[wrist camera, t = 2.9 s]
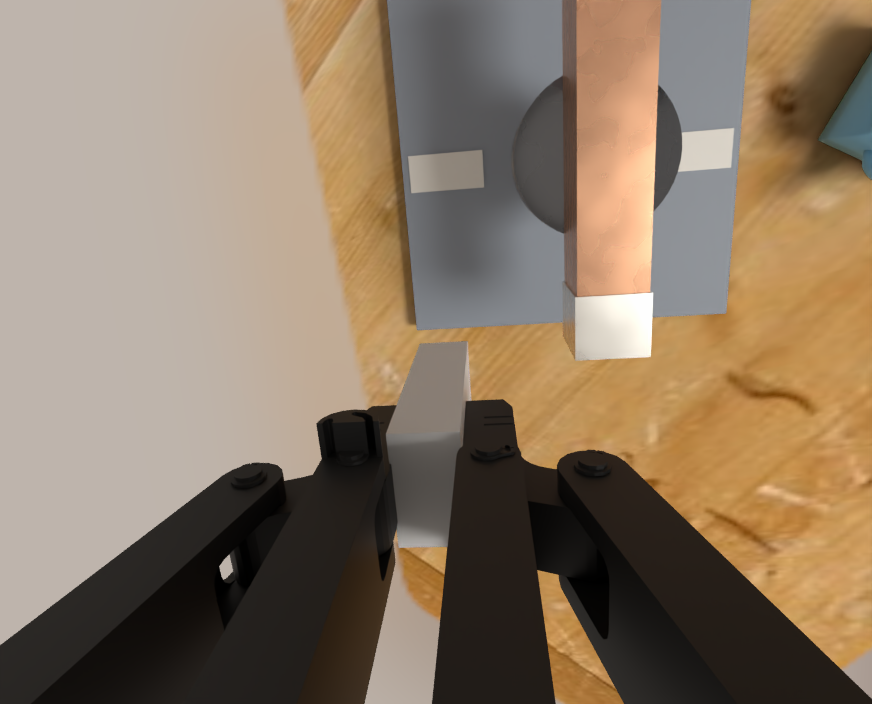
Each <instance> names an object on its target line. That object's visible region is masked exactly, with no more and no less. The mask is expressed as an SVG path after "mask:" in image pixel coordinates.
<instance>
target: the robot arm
mask: <svg viewBox="0 0 872 704" xmlns="http://www.w3.org/2000/svg"><path fill="white" fill-rule="evenodd" d="M317 431H318V437H319V444H320V450H321V457H322V460H321V461H320V463H319V465H318V467H317V468H316V470H315V472H314V474H313V475H310V476H306V477H302V478H297V479H292V480H287V481H284V477H283V472H282V469H281V468H280V467H279V466H278V465H274V464H270V463H252V464H245V465H243V466H241V467H239V468H237V469H234V470H232V471H230V472H228V473H226V474H225V475H223V476H222V477H220V478H219V479H218V480H216V481H215V482H214V483H213V484H211V485H210V486H209V487H207V488H206V489H205V490H203V491H202V492H201V493H199V494H198V495H197V496H195V497H194V498H193V499H191V500H190V501H189V502H188V503H186V504H185V505H184V506H182V507H181V508H180V509H178V510H177V511H176V512H174V513H173V514H172V515H171V516H169V517H168V518H167V519H165V520H164V521H163V522H161V523H160V524H159V525H158V526H156V527H155V528H154V529H152V530H151V531H150V532H148V533H147V534H146V535H145V536H143V537H142V538H141V539H139V540H138V541H136V542H135V543H134V544H132V545H131V546H130V547H129V548H127V549H126V550H125V551H124V552H122V553H121V554H119V555H118V556H117V557H116V558H114V559H113V560H111V561H110V562H109V563H108V564H106V565H105V566H104V567H102V568H101V569H100V570H98V571H97V572H96V573H95V574H93V575H92V576H90V577H89V578H88V579H87V580H85V581H84V582H83V583H81V584H80V585H79V586H78V587H76V588H75V589H73V590H72V591H71V592H69V593H68V594H67V595H66V596H64V597H63V598H62V599H60V600H59V601H58V602H56V603H55V604H54V605H52V606H51V607H50V608H49V609H47V610H46V611H45V612H43V613H42V614H41V615H39V616H38V617H37V618H36V619H34V620H33V621H31V622H30V623H29V624H28V625H26V626H25V627H24V628H22V629H21V630H20V631H18V632H17V633H16V634H14V635H13V636H12V637H10V638H9V639H8V640H7V641H5V642H4V643H3V644H1V645H0V704H364V703H365V698H366V694H367V689H368V684H369V680H370V675H371V671H372V666H373V662H374V657H375V653H376V648H377V643H378V639H379V634H380V630H381V625H382V621H383V616H384V611H385V607H386V603H387V598H388V594H389V589H390V584H391V580H392V575H393V571H394V566H395V553H394V544H393V540H394V536H395V532H396V528H397V537H398V546H399V548H404V547H447V557H446V567H445V577H444V588H443V598H442V608H441V618H440V628H439V639H438V649H437V659H436V670H435V679H434V690H433V700H432V704H556V703H555V696H554V689H553V681H552V674H551V667H550V660H549V653H548V645H547V638H546V631H545V624H544V616H543V609H542V602H541V595H540V587H539V580H538V573H537V570H540V571H544V572H549V573H553V574H558V575H559V581H560V585H561V588H562V590H563V592H564V594H565V596H566V598H567V599H568V601H569V603H570V605H571V607H572V609H573V610H574V612H575V614H576V616H577V618H578V620H579V621H580V623H581V625H582V627H583V629H584V631H585V632H586V634H587V636H588V638H589V640H590V642H591V643H592V645H593V647H594V649H595V651H596V653H597V655H598V656H599V658H600V660H601V662H602V664H603V666H604V667H605V669H606V671H607V673H608V675H609V677H610V678H611V680H612V682H613V684H614V686H615V688H616V689H617V691H618V693H619V695H620V697H621V699H622V700H623V702H624V704H872V699H871V698H870V697H869V696H868V695H867V694H866V693H865V692H864V691H863V690H862V689H861V688H860V687H859V686H858V685H857V684H855V682H853V681H852V680H851V679H850V678H849V677H848V676H847V675H846V674H845V673H844V672H843V671H842V670H841V669H840V668H839V667H838V666H837V665H836V664H835V663H834V662H833V661H832V660H831V659H830V658H829V657H828V656H827V655H825V654H824V653H823V652H822V651H821V650H820V649H819V648H818V647H817V646H816V645H815V644H814V643H813V642H812V641H811V640H810V639H809V638H808V637H807V636H806V635H805V634H804V633H803V632H802V631H801V630H800V629H798V628H797V627H796V626H795V625H794V624H793V623H792V622H791V621H790V620H789V619H788V618H787V617H786V616H785V615H784V614H783V613H782V612H781V611H780V610H779V609H778V608H777V607H776V606H775V605H774V604H773V603H771V602H770V601H769V600H768V599H767V598H766V597H765V596H764V595H763V594H762V593H761V592H760V591H759V590H758V589H757V588H756V587H755V586H754V585H753V584H752V583H751V582H750V581H749V580H748V579H747V578H746V577H745V576H743V575H742V574H741V573H740V572H739V571H738V570H737V569H736V568H735V567H734V566H733V565H732V564H731V563H730V562H729V561H728V560H727V559H726V558H725V557H724V556H723V555H722V554H721V553H720V552H719V551H718V550H716V549H715V548H714V547H713V546H712V545H711V544H710V543H709V542H708V541H707V540H706V539H705V538H704V537H703V536H702V535H701V534H700V533H699V532H698V531H697V530H696V529H695V528H694V527H693V526H692V525H691V524H689V523H688V522H687V521H686V520H685V519H684V518H683V517H682V516H681V515H680V514H679V513H678V512H677V511H676V510H675V509H674V508H673V507H672V506H671V505H670V504H669V503H668V502H667V501H666V500H665V499H664V498H662V497H661V496H660V495H659V494H658V493H657V492H656V491H655V490H654V489H653V488H652V487H651V486H650V485H649V484H648V483H647V482H646V481H645V480H644V479H643V478H642V477H641V476H640V475H639V474H638V473H637V472H635V471H634V470H633V469H632V468H631V467H630V466H629V465H628V464H627V463H626V462H625V461H623V460H622V459H620V458H619V457H617V456H615V455H612V454H609V453H606V452H604V451H598V450H597V451H596V450H587V451H578V452H574V453H570V454H567V455H566V456H564V457H562V458H561V459H560V460H559V462H558V465H557V469H550V468H545V467H540V466H537V465H534V464H531V463H529V462H528V461H526V460H524V459H523V458H522V457H521V452H520V450H519V448H518V445H517V438H516V431H515V425H514V417H513V409H512V406H511V405H509V404H508V403H507V402H506V401H505V400H503V399H502V400H478V401H471V388H470V372H469V357H468V341H461V342H442V343H423V344H420V345H419V348H418V350H417V353H416V356H415V358H414V361H413V364H412V366H411V369H410V371H409V374H408V377H407V379H406V382H405V385H404V387H403V390H402V393H401V395H400V398H399V400H398V403H397V405H393V406H372V407H371V408H369V409H368V410H347V411H341V412H337V413H333V414H330V415H328V416H326V417H324V418H322V419H321V420H320V421H319V422H318V423H317ZM229 554H230V558H231V563H232V567H233V572H232V573H231V574H230V575H229V576H228V578H226V579H224V580H223V579H222V577H221V572H220V568H219V566H220V564H221V563H222V562H223V560H224V559H225V558H226V557H227V556H228V555H229Z"/></svg>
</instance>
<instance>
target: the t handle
mask: <svg viewBox="0 0 872 704" xmlns="http://www.w3.org/2000/svg"><path fill="white" fill-rule="evenodd" d="M660 19H661V0H562V53H563V76H561V77H560V78H558V79H556V80H555V81H553V82H552V83H551V84H550V85H549V86H547V87H546V88H545V89H544V90H543V91H542V92H541V93H540V94H539V95H538V96H537V98H536V99H535V100H534V102H533V103H532V104H531V106H530V107H529V109H528V110H527V112H526V113H525V115H524V117H523V119H522V120H521V122H520V124H519V126H518V129H517V131H516V134H515V137H514V141H513V145H512V152H511V169H512V176H513V180H514V184H515V187H516V190H517V192H518V194H519V196H520V198H521V200H522V202H523V203H524V204H525V206H526V207H527V209H528V210H529V211H530V212H531V213H532V214H533V215H534V216H535V217H537V218H538V219H539V220H540V221H542V222H543V223H545V224H546V225H548V226H549V227H551V228H553V229H554V230H556V231H558V232H561V233H563V234H564V280H565V281H562V301H563V337H564V339H565V341H566V343H567V345H568V347H569V349H570V351H571V353H572V355H573V357H574V359H575V361H576V360H597V359H618V358H639V357H651V336H652V310H653V292H651V291H650V285H651V258H652V232H653V211H655V209H656V208H657V207H658V206H659V205H660V204H661V203H662V201H663V200H664V198H665V197H666V195H667V194H668V192H669V191H670V189H671V187H672V185H673V183H674V181H675V178H676V175H677V173H678V170H679V165H680V161H681V155H682V132H681V125H680V121H679V118H678V115H677V112H676V110H675V108H674V105H673V103H672V102H671V100H670V98H669V97H668V95H667V94H666V93H665V91H664V90H663V89H662V88H661V87H660V86H659V85H658V73H659V46H660Z"/></svg>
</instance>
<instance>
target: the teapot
mask: <svg viewBox="0 0 872 704" xmlns="http://www.w3.org/2000/svg"><path fill="white" fill-rule="evenodd" d="M818 141H820V142H823V143H825V144H827V145H829V146H831V147H833V148H835V149H838V150H840V151H842V152H844V153H846V154H848V155H851V156H853V157H855V158H857V159H859V160H861V161H862V168H863V171H864V173H865V174H866V175H867V176H868V177H869V178H870V179H871V180H872V51H871V53H870V54H869V56H868V58H867V59H866V61H865V63H864V64H863V66H862V68H861V69H860V71H859V72H858V74H857V76H856V77H855V79H854V81H853V82H852V84H851V86H850V87H849V89H848V90H847V92H846V94H845V95H844V97H843V99H842V100H841V102H840V104H839V105H838V107H837V109H836V110H835V112H834V114H833V115H832V117H831V118H830V120H829V122H828V123H827V125H826V127H825V128H824V130H823V132H822V133H821V135H820V137H819V138H818Z"/></svg>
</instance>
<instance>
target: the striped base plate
mask: <svg viewBox="0 0 872 704" xmlns="http://www.w3.org/2000/svg"><path fill="white" fill-rule="evenodd" d="M387 6H388V17H389V28H390V39H391V50H392V61H393V72H394V83H395V94H396V105H397V116H398V127H399V138H400V149H401V160H402V171H403V182H404V193H405V204H406V215H407V226H408V237H409V248H410V259H411V270H412V281H413V292H414V303H415V314H416V325H417V330H431V329H449V328H467V327H486V326H504V325H522V324H540V323H559V322H563V301H562V281H565V280H564V234H563V233H561V232H558V231H556V230H554V229H553V228H551V227H549V226H548V225H546V224H545V223H543V222H542V221H540V220H539V219H538V218H537V217H535V216H534V215H533V214H532V213H531V212H530V211H529V210H528V209H527V207H526V206H525V204H524V203H523V202H522V200H521V198H520V196H519V194H518V192H517V190H516V187H515V184H514V180H513V176H512V169H511V152H512V145H513V141H514V137H515V134H516V131H517V129H518V126H519V124H520V122H521V120H522V119H523V117H524V115H525V113H526V112H527V110H528V109H529V107H530V106H531V104H532V103H533V102H534V100H535V99H536V98H537V96H538V95H539V94H540V93H541V92H542V91H543V90H544V89H545V88H546V87H547V86H549V85H550V84H551V83H552V82H553V81H555V80H556V79H558V78H560V77H561V76H563V53H562V0H387ZM750 8H751V0H661V19H660V46H659V73H658V85H659V86H660V87H661V88H662V89H663V90H664V91H665V93H666V94H667V95H668V97H669V98H670V100H671V102H672V103H673V105H674V108H675V110H676V112H677V115H678V118H679V121H680V125H681V132H682V155H681V161H680V165H679V170H678V173H677V175H676V178H675V181H674V183H673V185H672V187H671V189H670V191H669V192H668V194H667V195H666V197H665V198H664V200H663V201H662V203H661V204H660V205H659V206H658V207H657V208H656V209H655V211H653V232H652V258H651V285H650V291H651V292H653V310H652V317H669V316H687V315H705V314H723V313H726V309H727V296H728V284H729V271H730V259H731V246H732V233H733V221H734V208H735V196H736V183H737V171H738V158H739V146H740V133H741V121H742V108H743V96H744V83H745V71H746V58H747V46H748V33H749V21H750Z"/></svg>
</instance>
